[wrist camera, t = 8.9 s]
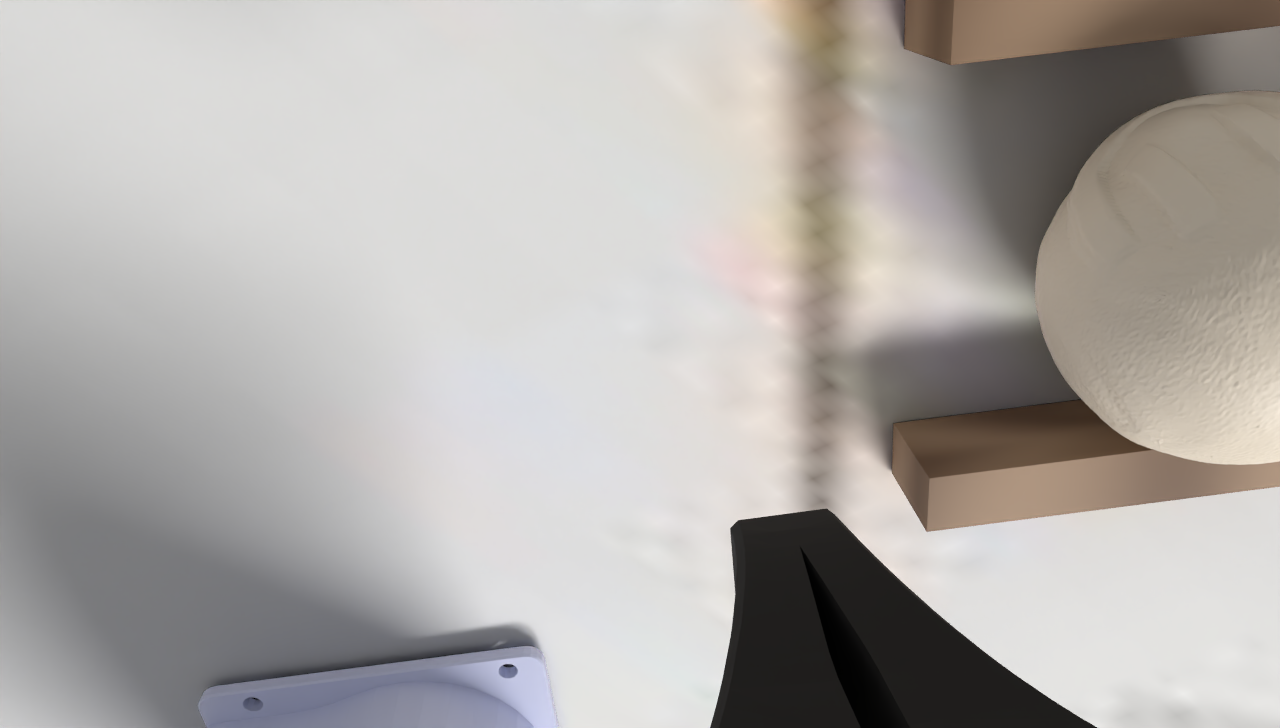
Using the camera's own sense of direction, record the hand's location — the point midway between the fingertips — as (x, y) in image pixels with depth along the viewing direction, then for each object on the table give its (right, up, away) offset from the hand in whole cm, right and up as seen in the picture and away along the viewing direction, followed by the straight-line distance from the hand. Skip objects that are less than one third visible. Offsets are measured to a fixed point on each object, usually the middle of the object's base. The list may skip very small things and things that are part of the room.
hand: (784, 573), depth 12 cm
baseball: (+9, +6, +8) cm, 14 cm away
